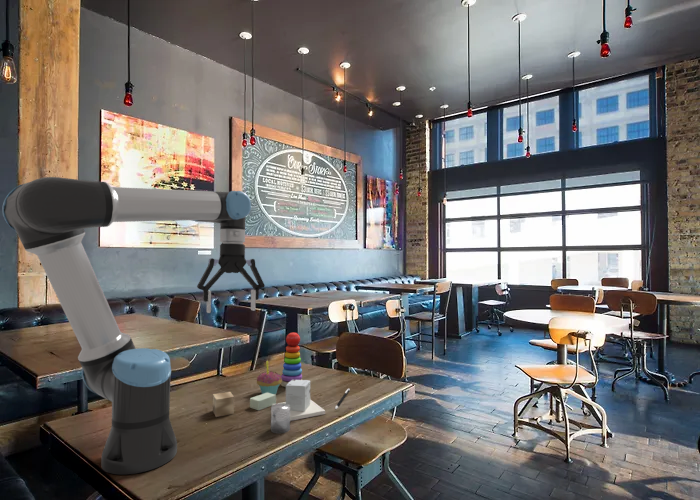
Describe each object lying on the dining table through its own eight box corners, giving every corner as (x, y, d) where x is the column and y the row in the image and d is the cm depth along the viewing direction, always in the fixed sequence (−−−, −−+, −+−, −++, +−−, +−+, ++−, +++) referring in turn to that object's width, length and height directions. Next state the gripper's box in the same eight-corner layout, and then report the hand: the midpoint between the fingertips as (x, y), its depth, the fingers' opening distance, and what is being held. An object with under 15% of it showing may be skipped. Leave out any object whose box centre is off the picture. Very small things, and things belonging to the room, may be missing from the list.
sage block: (258, 411, 120) (258, 401, 120) (249, 408, 122) (249, 398, 122) (275, 404, 126) (276, 394, 126) (267, 401, 128) (267, 392, 128)
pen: (350, 390, 140) (350, 387, 140) (336, 410, 121) (336, 406, 121) (348, 390, 140) (348, 387, 140) (333, 410, 121) (333, 406, 121)
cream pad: (286, 421, 112) (286, 418, 112) (272, 407, 122) (272, 404, 122) (325, 414, 118) (325, 410, 118) (308, 401, 128) (308, 398, 128)
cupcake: (275, 398, 130) (276, 361, 130) (251, 396, 132) (252, 359, 132) (285, 390, 138) (285, 355, 139) (262, 388, 140) (262, 353, 140)
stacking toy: (301, 388, 140) (302, 334, 141) (278, 388, 140) (279, 334, 141) (304, 381, 148) (304, 330, 149) (282, 381, 148) (283, 330, 149)
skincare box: (305, 411, 116) (305, 386, 117) (284, 410, 117) (285, 385, 118) (310, 404, 122) (310, 380, 123) (291, 403, 123) (291, 378, 124)
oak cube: (215, 417, 115) (216, 399, 115) (212, 411, 119) (213, 394, 119) (233, 414, 117) (233, 396, 117) (229, 408, 121) (230, 391, 122)
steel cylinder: (274, 434, 103) (274, 411, 104) (268, 427, 108) (268, 405, 108) (292, 431, 106) (293, 408, 106) (286, 424, 110) (286, 402, 110)
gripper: (191, 241, 117) (190, 315, 116) (274, 244, 129) (273, 310, 128) (188, 242, 123) (187, 311, 123) (267, 244, 135) (266, 308, 135)
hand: (231, 311), depth 125 cm, fingers open, 13 cm apart
